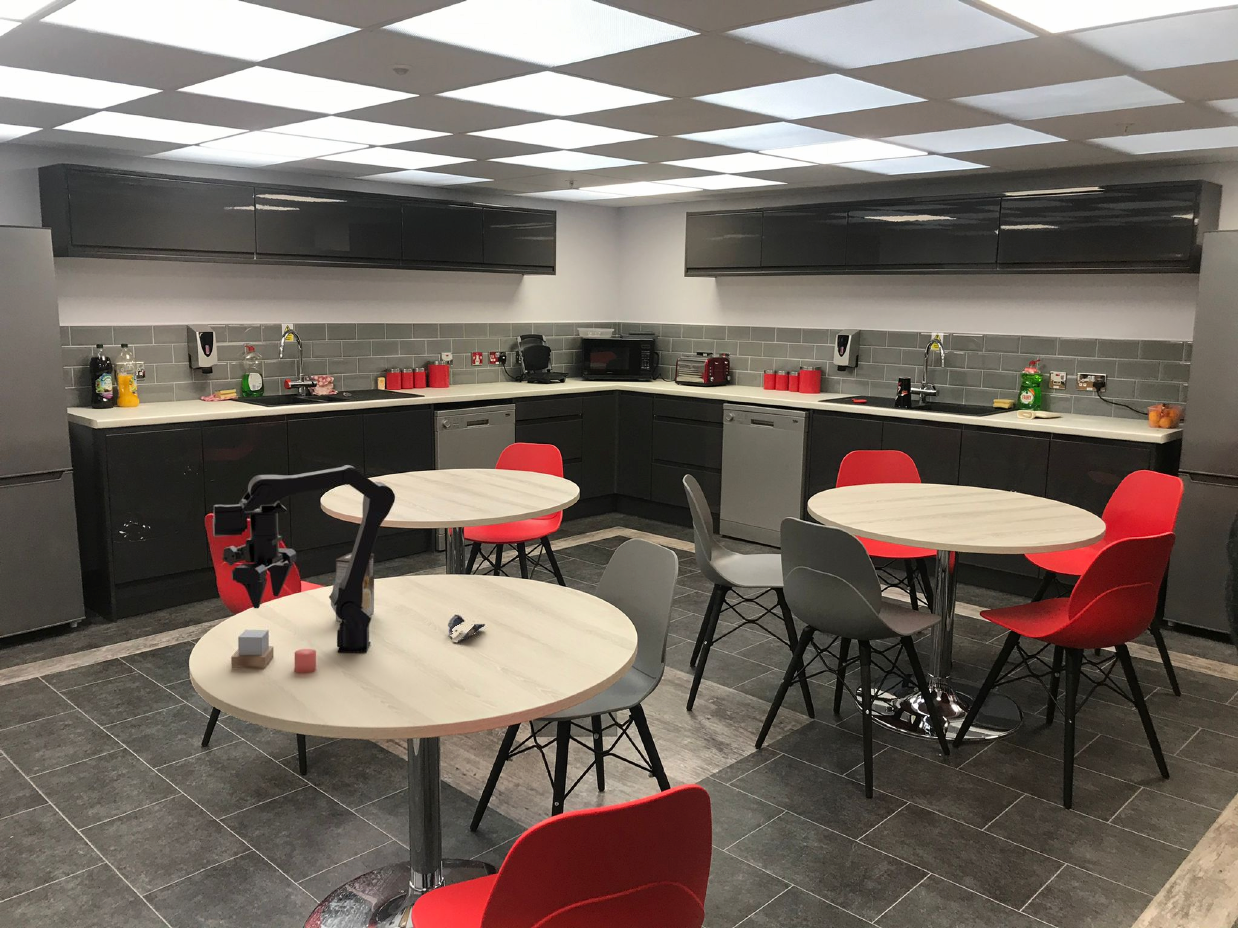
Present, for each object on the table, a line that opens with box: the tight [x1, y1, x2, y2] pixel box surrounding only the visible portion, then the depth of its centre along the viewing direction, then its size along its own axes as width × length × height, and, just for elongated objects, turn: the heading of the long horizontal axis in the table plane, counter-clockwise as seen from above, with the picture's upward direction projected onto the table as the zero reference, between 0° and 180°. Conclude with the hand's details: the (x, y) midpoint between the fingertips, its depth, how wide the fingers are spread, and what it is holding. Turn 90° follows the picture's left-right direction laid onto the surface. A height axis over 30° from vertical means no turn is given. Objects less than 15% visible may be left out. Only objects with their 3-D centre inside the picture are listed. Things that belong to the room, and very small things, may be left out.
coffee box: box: [335, 552, 375, 622], centre depth 239 cm, size 9×6×16 cm
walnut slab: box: [230, 645, 275, 670], centre depth 204 cm, size 7×7×3 cm
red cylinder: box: [294, 648, 317, 675], centre depth 202 cm, size 4×4×4 cm
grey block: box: [237, 629, 270, 655], centre depth 204 cm, size 5×5×4 cm
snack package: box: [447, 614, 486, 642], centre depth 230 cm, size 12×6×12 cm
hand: (266, 601), depth 206 cm, fingers open, 9 cm apart
